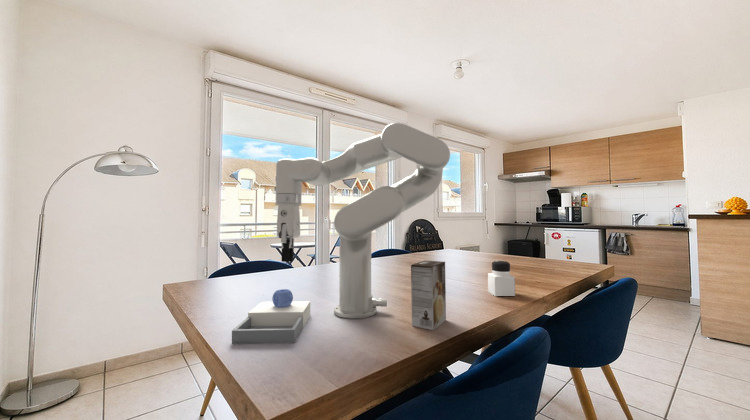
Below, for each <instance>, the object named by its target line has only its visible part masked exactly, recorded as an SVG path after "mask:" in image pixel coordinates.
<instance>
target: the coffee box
mask: <svg viewBox="0 0 750 420" xmlns="http://www.w3.org/2000/svg"><path fill="white" fill-rule="evenodd" d="M410 278H411V279H410V280H411V282H410V283H411V288H410V289H411V292H410V293H411V294H410V295H411V296H410V297H411V326H412V327H415V328H421V329H425V330H430V331H436V329H437V328H438V327H439V326H441V325H442V324H443V323H444V322H446V320H447V302H446V300H447V299H446V296H447V295H446V293H447V291H446V289H447V288H446V261H438V260H427V259H426V260H422V261H418V262H416V263H415V262H414V263H412V264H411V265H410Z"/></svg>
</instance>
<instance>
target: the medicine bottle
mask: <svg viewBox="0 0 750 420" xmlns="http://www.w3.org/2000/svg"><path fill="white" fill-rule="evenodd" d="M510 273H511V264H510V262H508V261H506V260H495V261H492V262H491V272H489V273H487V292H488V293H489V294H490V295H491V296H493V295H494V296H493V297H495V296H515V297H516V277H515V276H514V275H512V274H510Z"/></svg>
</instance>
